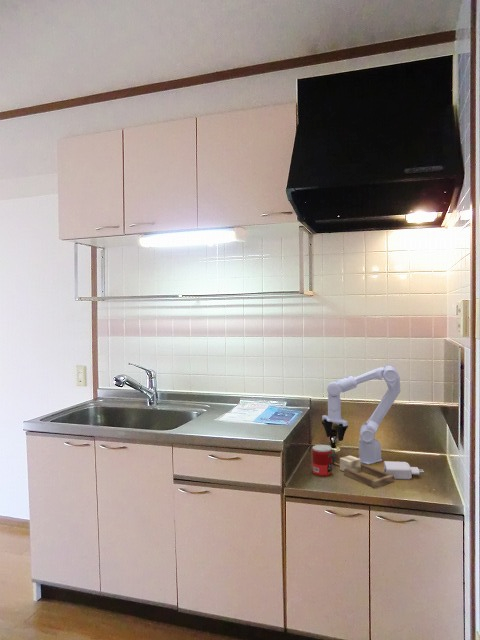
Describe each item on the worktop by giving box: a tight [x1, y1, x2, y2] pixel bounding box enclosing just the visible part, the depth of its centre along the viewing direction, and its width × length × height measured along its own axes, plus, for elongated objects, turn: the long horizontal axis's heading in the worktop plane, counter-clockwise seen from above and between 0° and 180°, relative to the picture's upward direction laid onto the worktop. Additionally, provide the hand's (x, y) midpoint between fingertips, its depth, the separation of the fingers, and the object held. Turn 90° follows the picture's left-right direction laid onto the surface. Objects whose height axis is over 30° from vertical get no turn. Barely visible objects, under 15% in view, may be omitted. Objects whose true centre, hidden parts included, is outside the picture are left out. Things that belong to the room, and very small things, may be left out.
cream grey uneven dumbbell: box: [332, 449, 362, 473], centre depth 202 cm, size 6×15×6 cm, turn 31°
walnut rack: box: [343, 463, 395, 489], centre depth 189 cm, size 11×17×2 cm, turn 31°
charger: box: [383, 460, 425, 480], centre depth 191 cm, size 5×9×15 cm
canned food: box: [311, 444, 333, 478], centre depth 195 cm, size 8×8×11 cm
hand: (334, 438), depth 212 cm, fingers open, 7 cm apart
